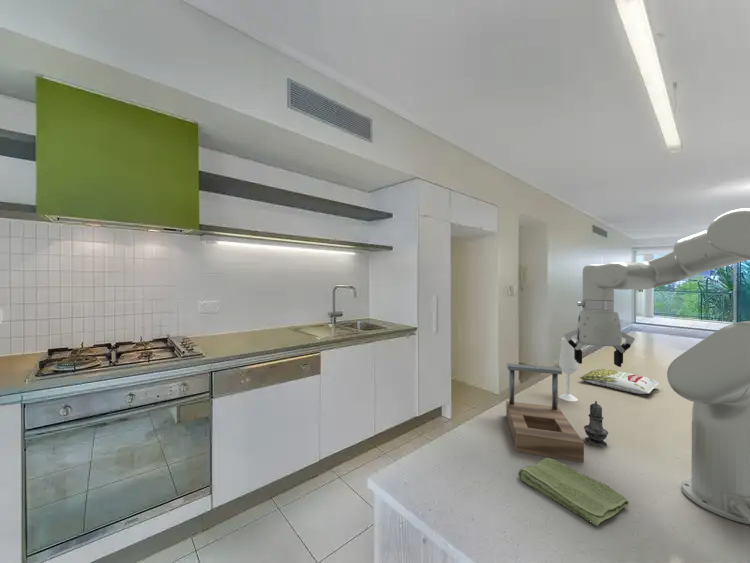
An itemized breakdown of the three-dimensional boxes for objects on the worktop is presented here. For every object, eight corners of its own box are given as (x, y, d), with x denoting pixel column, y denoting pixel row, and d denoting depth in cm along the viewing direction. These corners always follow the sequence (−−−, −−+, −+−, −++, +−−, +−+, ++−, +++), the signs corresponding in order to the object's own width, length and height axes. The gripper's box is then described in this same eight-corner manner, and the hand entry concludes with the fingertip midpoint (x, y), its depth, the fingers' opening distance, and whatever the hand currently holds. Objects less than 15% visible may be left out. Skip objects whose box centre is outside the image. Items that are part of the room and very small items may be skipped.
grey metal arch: (561, 411, 98) (562, 370, 98) (507, 405, 103) (508, 366, 103) (558, 407, 102) (558, 367, 102) (506, 401, 106) (506, 363, 107)
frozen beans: (594, 363, 156) (660, 375, 136) (594, 374, 156) (660, 388, 136) (578, 371, 143) (649, 386, 123) (578, 384, 143) (649, 400, 123)
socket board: (583, 462, 79) (584, 442, 79) (516, 451, 84) (516, 433, 84) (558, 422, 102) (558, 407, 102) (506, 415, 106) (506, 401, 106)
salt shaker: (612, 448, 86) (613, 405, 86) (589, 446, 87) (589, 403, 87) (601, 438, 91) (602, 398, 92) (579, 436, 93) (580, 396, 93)
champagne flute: (582, 400, 122) (582, 339, 122) (570, 402, 119) (570, 340, 119) (566, 394, 128) (566, 337, 128) (554, 396, 126) (555, 337, 126)
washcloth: (600, 534, 57) (600, 516, 57) (515, 480, 72) (515, 466, 72) (631, 509, 63) (632, 493, 63) (547, 464, 78) (547, 452, 78)
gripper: (567, 306, 90) (567, 364, 89) (640, 308, 84) (640, 370, 84) (561, 304, 97) (561, 358, 96) (627, 306, 91) (627, 363, 91)
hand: (597, 364), depth 90 cm, fingers open, 9 cm apart
